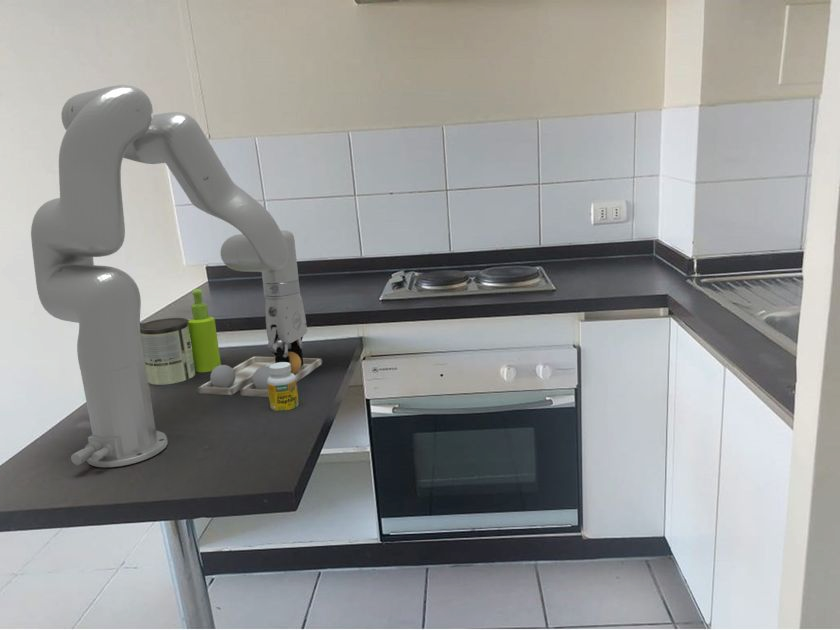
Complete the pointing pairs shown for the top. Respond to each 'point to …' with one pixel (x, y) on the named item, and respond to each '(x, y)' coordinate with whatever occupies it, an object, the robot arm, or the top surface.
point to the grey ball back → (222, 376)
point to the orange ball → (294, 361)
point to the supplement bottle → (282, 387)
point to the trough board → (245, 377)
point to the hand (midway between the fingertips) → (290, 369)
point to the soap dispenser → (203, 336)
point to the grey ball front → (261, 377)
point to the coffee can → (167, 351)
